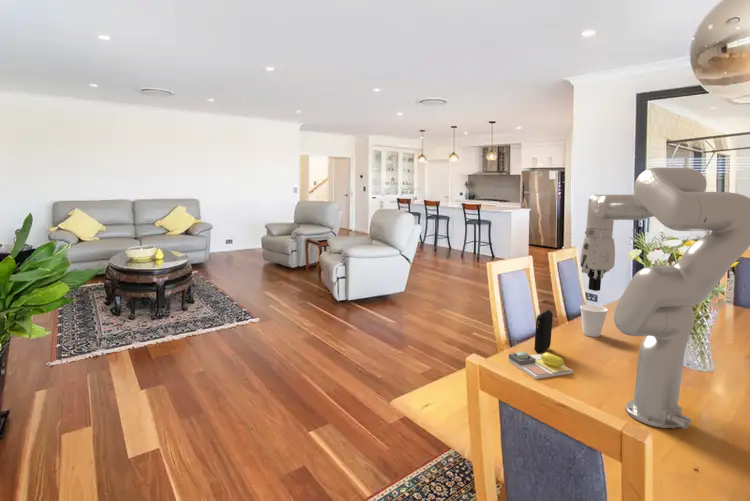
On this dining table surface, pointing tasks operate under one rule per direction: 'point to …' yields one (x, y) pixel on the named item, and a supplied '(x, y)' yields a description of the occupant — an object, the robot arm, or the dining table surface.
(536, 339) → the carrying case or bag
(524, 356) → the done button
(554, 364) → the lemon
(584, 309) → the cup
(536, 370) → the picture board
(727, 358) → the dining table surface
